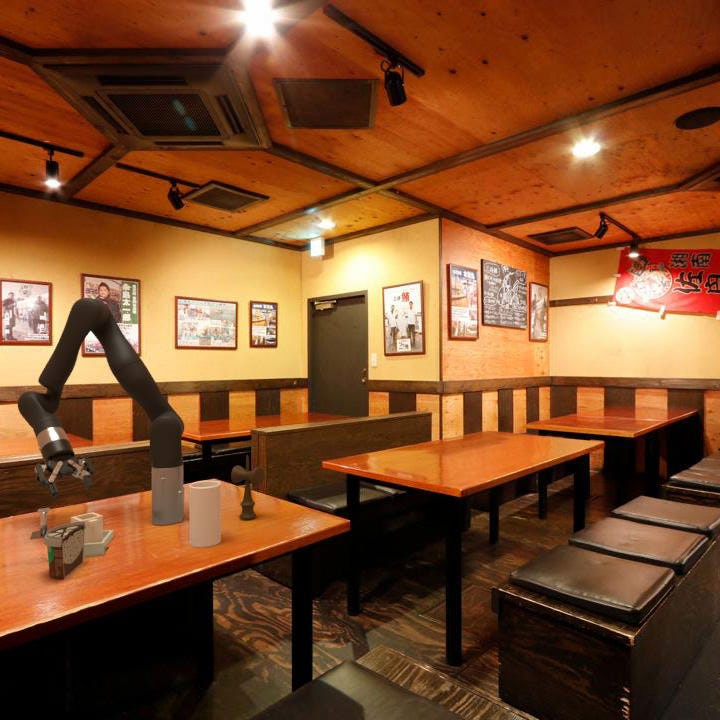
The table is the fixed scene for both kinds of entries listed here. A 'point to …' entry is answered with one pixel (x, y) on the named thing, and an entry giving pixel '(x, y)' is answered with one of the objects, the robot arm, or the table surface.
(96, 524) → the cream open box
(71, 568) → the food container
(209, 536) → the cup
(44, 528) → the stake stand
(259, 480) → the kendama
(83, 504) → the table surface
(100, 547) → the tray
